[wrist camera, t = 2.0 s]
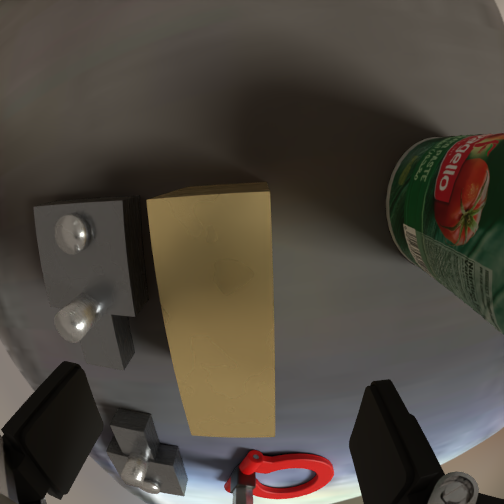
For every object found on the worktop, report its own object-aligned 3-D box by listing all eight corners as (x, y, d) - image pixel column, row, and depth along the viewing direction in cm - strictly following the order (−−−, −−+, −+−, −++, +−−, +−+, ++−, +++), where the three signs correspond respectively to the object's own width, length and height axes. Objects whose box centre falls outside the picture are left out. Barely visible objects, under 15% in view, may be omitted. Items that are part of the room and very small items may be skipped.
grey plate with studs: (55, 201, 15) (7, 213, 11) (139, 195, 15) (99, 207, 11) (131, 468, 22) (119, 500, 18) (187, 479, 22) (180, 513, 18)
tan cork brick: (188, 186, 15) (146, 199, 9) (266, 181, 15) (270, 191, 9) (208, 365, 18) (191, 435, 12) (271, 364, 18) (275, 436, 12)
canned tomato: (416, 110, 13) (575, 77, 3) (500, 181, 14) (631, 214, 3) (360, 236, 15) (493, 348, 5) (453, 287, 16) (565, 384, 6)
